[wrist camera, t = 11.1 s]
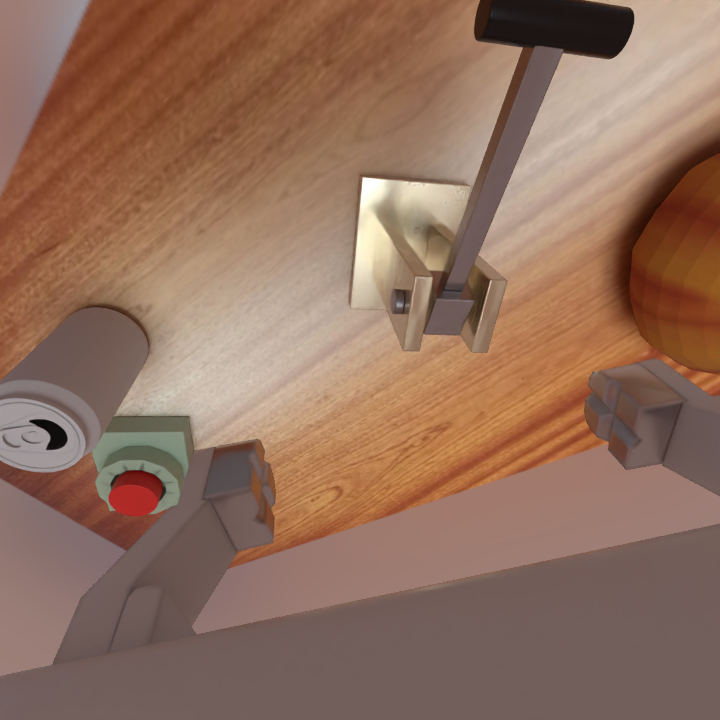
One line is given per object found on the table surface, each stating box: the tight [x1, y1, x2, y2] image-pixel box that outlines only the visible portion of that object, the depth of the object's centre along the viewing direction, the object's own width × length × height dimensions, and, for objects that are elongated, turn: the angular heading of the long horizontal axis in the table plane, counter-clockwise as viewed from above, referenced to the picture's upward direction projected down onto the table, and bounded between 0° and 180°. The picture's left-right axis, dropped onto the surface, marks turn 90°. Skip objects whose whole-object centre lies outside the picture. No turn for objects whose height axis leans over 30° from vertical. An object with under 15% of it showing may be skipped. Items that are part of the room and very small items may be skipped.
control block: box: [92, 417, 194, 514], centre depth 40 cm, size 10×8×4 cm
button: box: [108, 470, 163, 516], centre depth 38 cm, size 4×4×2 cm
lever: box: [423, 0, 634, 335], centre depth 20 cm, size 15×5×2 cm, turn 175°
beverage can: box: [0, 307, 148, 472], centre depth 30 cm, size 6×6×12 cm
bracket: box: [349, 175, 507, 353], centre depth 28 cm, size 10×8×13 cm
